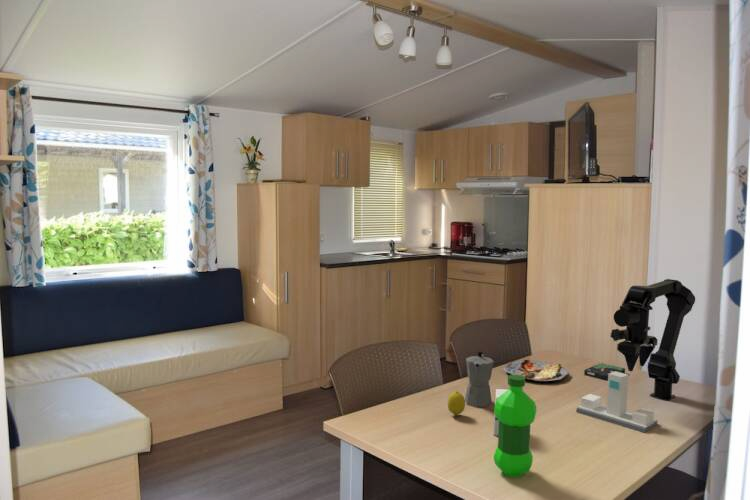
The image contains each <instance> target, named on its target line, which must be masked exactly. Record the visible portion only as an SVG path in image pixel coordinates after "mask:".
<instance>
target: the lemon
mask: <svg viewBox="0 0 750 500" xmlns="http://www.w3.org/2000/svg"><path fill="white" fill-rule="evenodd" d="M465 407H466V402H465V396H464V395H463V394H462V393H460V392H459V391H457V390H456V391H455V392H452V393H451V394H449V397H448V399H447V408H448V411H449V412H450V413H451V414H453V415H454V416H456V417H457V416H458V415H461V414H462V413H463V412H464V410H465Z"/></svg>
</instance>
